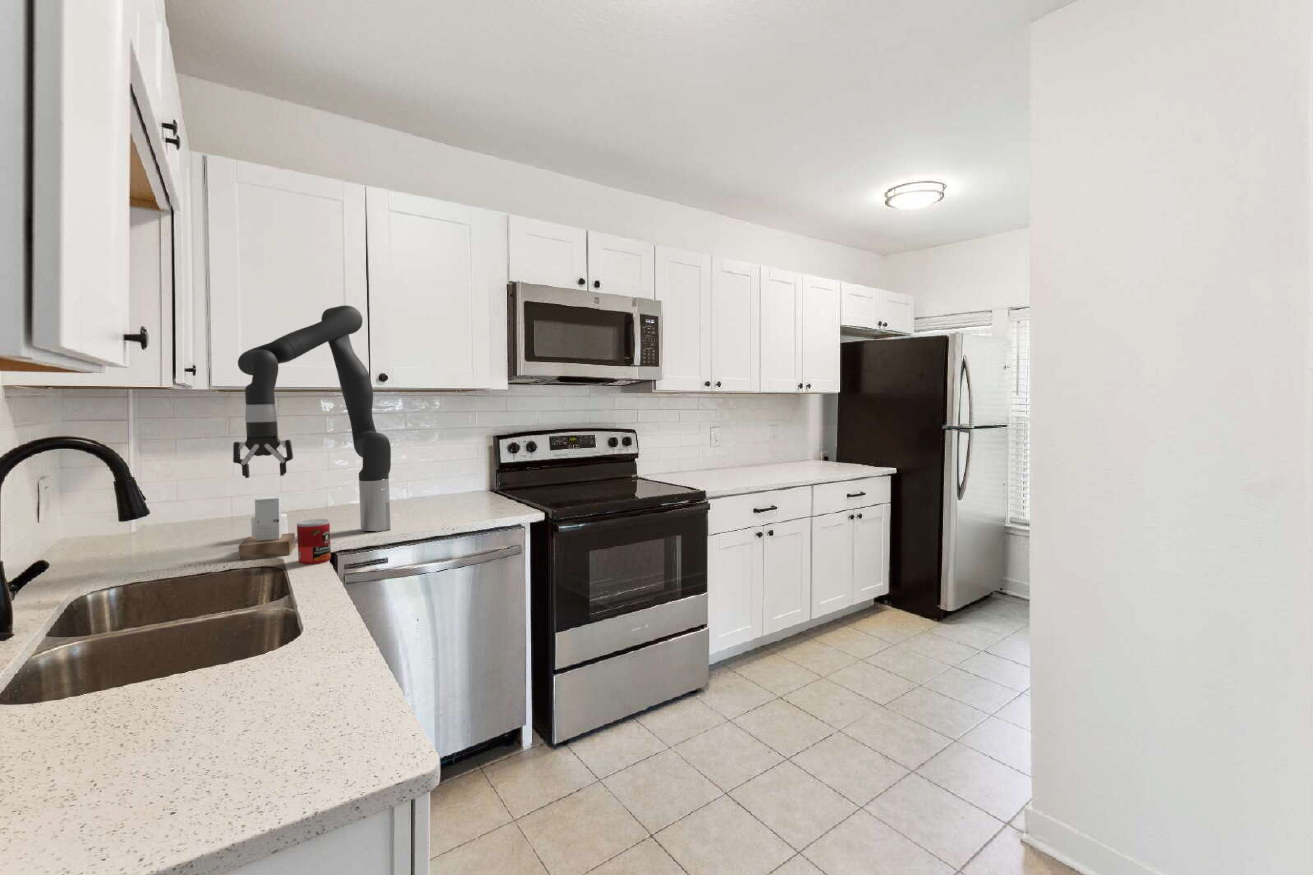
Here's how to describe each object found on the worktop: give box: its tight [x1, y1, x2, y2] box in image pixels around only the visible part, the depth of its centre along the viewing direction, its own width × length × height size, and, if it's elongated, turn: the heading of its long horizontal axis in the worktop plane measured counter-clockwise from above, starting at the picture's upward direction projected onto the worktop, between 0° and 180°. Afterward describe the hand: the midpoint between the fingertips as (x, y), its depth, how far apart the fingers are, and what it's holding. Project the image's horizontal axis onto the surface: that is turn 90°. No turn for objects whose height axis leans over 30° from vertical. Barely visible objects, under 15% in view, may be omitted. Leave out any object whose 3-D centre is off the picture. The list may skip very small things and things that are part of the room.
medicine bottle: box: [250, 513, 289, 537], centre depth 194 cm, size 7×7×12 cm
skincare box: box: [254, 495, 282, 541], centre depth 174 cm, size 6×4×12 cm
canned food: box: [296, 518, 332, 566], centre depth 164 cm, size 8×8×11 cm
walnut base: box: [238, 532, 296, 561], centre depth 174 cm, size 12×12×4 cm
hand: (264, 476), depth 173 cm, fingers open, 8 cm apart
